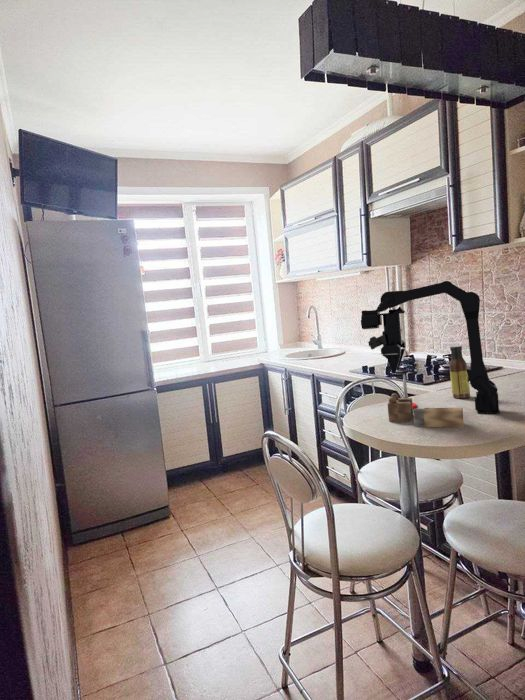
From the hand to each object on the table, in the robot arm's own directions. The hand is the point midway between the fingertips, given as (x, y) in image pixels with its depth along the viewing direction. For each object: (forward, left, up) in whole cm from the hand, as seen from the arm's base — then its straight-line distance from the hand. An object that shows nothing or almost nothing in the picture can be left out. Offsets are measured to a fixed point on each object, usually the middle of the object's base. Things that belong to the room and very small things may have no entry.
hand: (395, 371), depth 154 cm
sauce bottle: (-20, -22, -15) cm, 33 cm away
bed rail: (-14, +17, -15) cm, 26 cm away
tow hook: (-1, -7, -15) cm, 17 cm away
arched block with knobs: (-2, +9, -15) cm, 17 cm away
